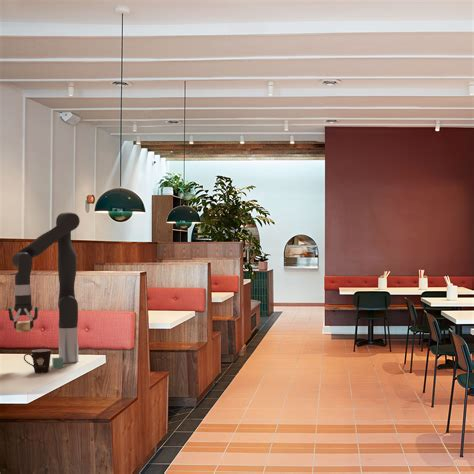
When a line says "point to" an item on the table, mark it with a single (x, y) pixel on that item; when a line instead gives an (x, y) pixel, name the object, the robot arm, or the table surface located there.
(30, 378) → the table surface
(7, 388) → the table surface
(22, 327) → the oak block
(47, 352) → the coffee mug
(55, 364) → the green cube
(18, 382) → the table surface
